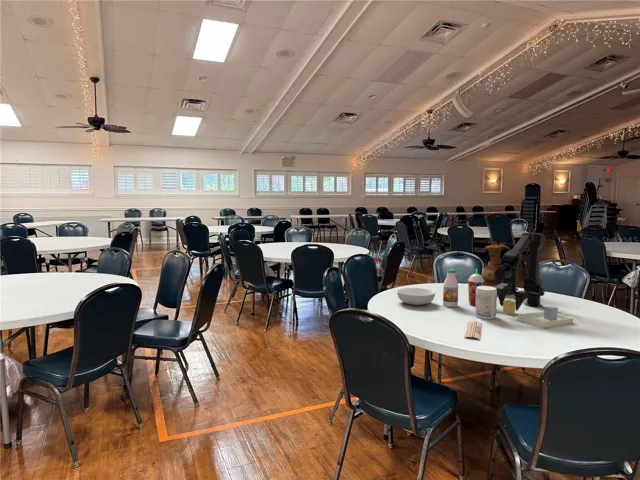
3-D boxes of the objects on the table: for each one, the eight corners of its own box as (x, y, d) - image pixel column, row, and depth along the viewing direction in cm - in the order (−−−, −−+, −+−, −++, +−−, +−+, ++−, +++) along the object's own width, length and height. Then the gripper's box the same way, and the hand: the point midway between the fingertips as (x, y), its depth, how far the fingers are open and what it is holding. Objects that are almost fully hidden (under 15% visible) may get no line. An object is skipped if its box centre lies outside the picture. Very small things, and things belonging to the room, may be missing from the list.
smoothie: (484, 307, 220) (486, 270, 218) (468, 306, 221) (469, 269, 219) (481, 303, 228) (483, 267, 226) (466, 302, 230) (467, 267, 228)
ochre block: (508, 311, 212) (509, 299, 211) (515, 313, 208) (515, 301, 207) (502, 312, 210) (503, 300, 209) (509, 314, 206) (509, 302, 206)
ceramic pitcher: (476, 288, 266) (477, 242, 263) (507, 288, 265) (509, 242, 262) (487, 295, 246) (489, 246, 243) (521, 295, 245) (523, 246, 242)
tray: (546, 315, 204) (546, 310, 204) (573, 322, 191) (573, 317, 191) (517, 319, 196) (517, 314, 196) (543, 328, 183) (543, 322, 183)
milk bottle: (440, 304, 226) (441, 268, 224) (454, 303, 227) (455, 268, 225) (446, 307, 219) (447, 270, 217) (460, 307, 219) (461, 270, 217)
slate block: (549, 317, 198) (550, 305, 197) (557, 319, 194) (557, 307, 194) (543, 318, 196) (544, 306, 196) (551, 320, 193) (552, 308, 192)
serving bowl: (431, 299, 237) (431, 287, 237) (438, 308, 217) (438, 296, 216) (395, 298, 240) (395, 286, 239) (398, 307, 219) (398, 295, 218)
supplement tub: (484, 313, 208) (486, 285, 206) (500, 318, 199) (501, 288, 198) (470, 315, 203) (471, 286, 202) (486, 320, 195) (487, 290, 193)
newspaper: (467, 324, 192) (468, 320, 192) (484, 325, 189) (484, 322, 189) (464, 339, 171) (464, 335, 171) (482, 342, 168) (482, 338, 168)
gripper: (484, 276, 213) (483, 305, 214) (514, 282, 196) (512, 314, 197) (500, 274, 217) (499, 303, 219) (530, 281, 200) (529, 312, 201)
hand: (509, 308), depth 209 cm, fingers open, 9 cm apart
